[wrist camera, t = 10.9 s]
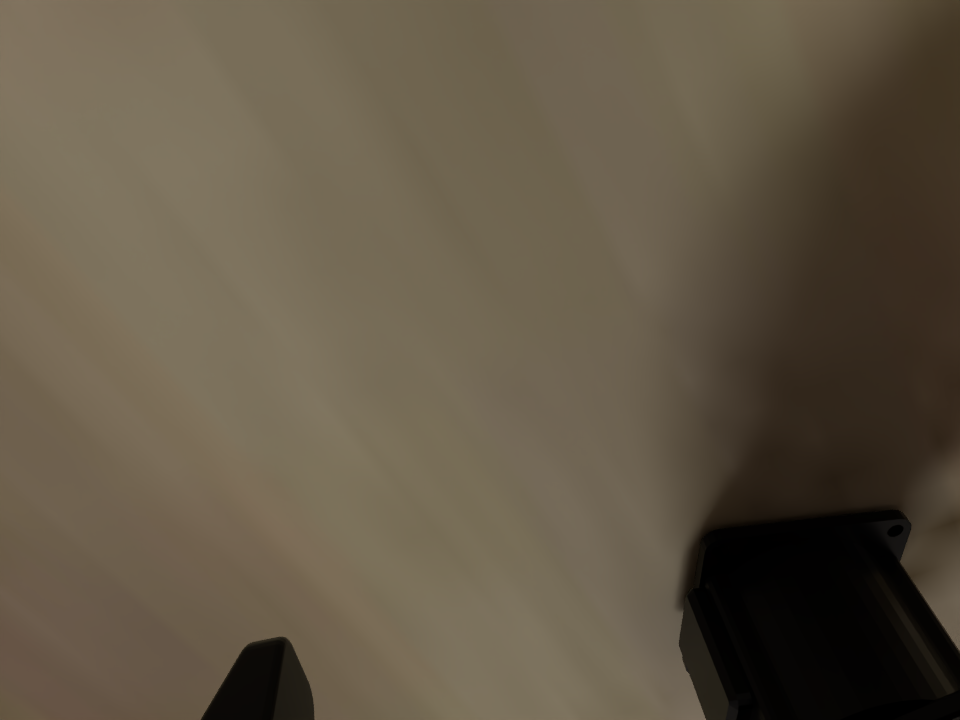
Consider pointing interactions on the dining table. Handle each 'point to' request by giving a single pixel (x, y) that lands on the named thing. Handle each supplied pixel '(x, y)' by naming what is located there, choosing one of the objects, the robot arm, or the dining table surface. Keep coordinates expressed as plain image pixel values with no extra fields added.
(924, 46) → the dining table surface
